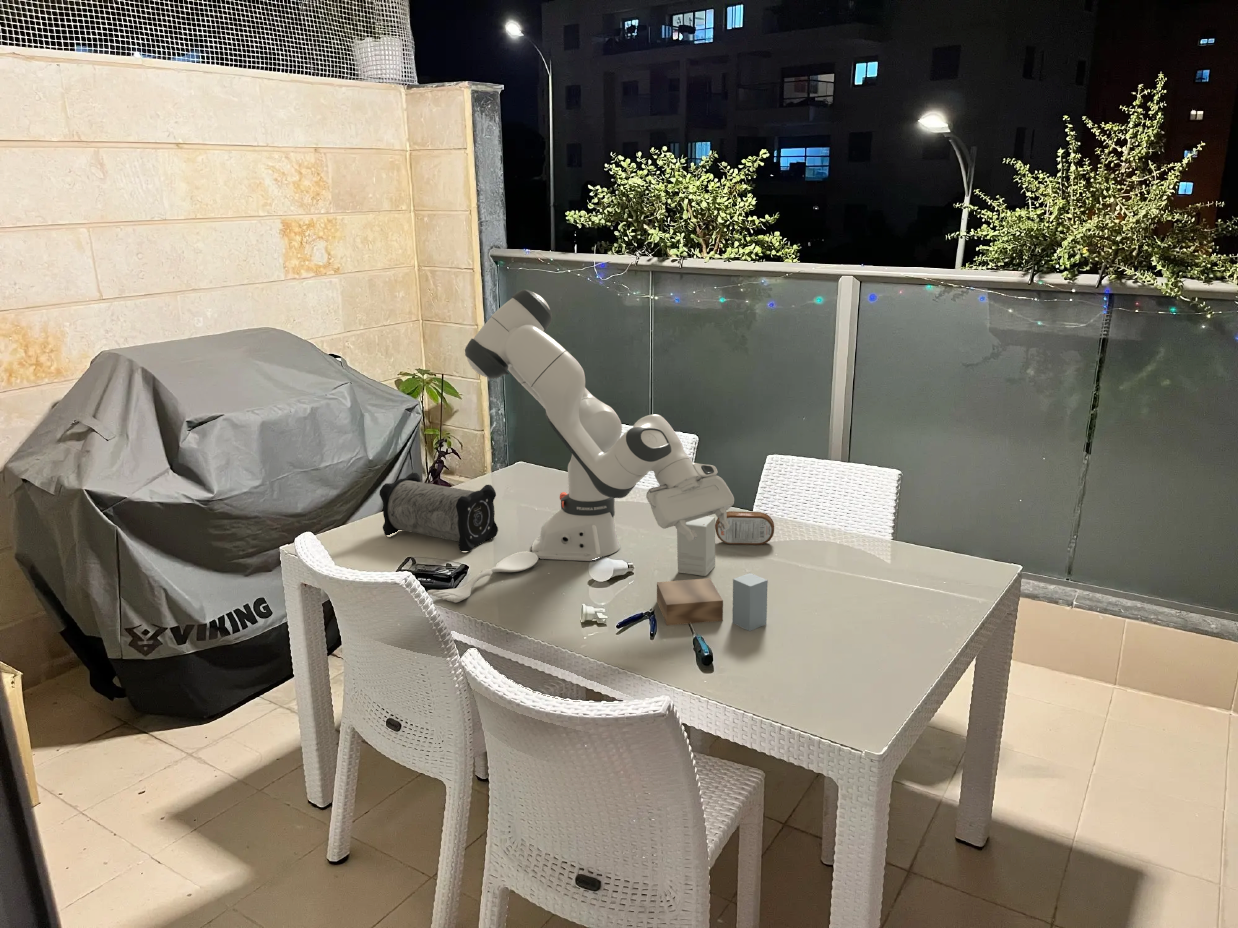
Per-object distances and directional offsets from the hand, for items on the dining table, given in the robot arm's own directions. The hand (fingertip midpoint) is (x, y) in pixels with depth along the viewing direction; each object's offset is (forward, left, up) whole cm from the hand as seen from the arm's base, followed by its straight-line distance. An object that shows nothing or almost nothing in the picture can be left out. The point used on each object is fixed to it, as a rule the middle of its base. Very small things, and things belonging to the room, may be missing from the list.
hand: (709, 534), depth 205 cm
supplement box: (-1, +20, -17) cm, 26 cm away
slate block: (+7, -10, -16) cm, 21 cm away
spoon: (-50, +16, -17) cm, 55 cm away
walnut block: (-5, -3, -17) cm, 18 cm away
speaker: (-66, +47, -17) cm, 82 cm away
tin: (+13, +36, -17) cm, 42 cm away
